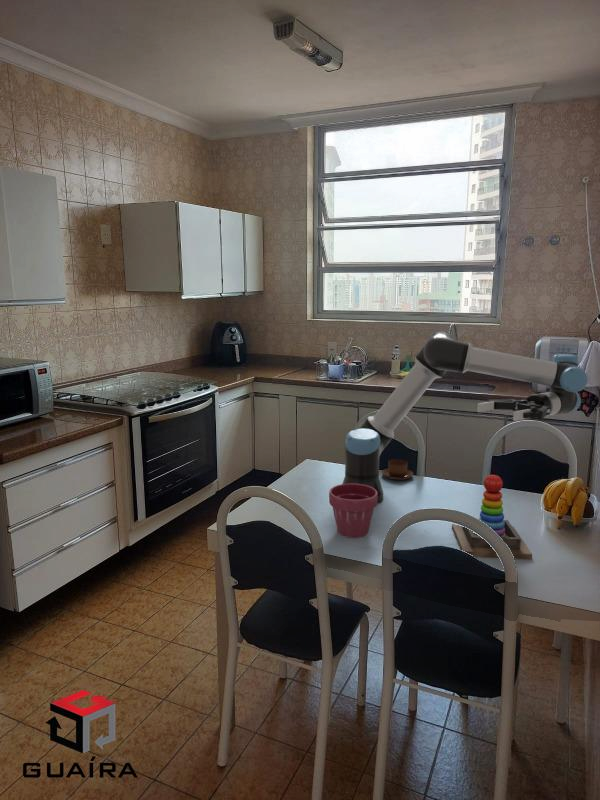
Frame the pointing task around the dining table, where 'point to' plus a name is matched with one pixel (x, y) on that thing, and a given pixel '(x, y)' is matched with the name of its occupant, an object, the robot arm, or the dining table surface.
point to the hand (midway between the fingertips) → (495, 411)
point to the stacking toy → (493, 505)
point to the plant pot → (353, 508)
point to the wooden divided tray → (482, 548)
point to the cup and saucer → (397, 470)
